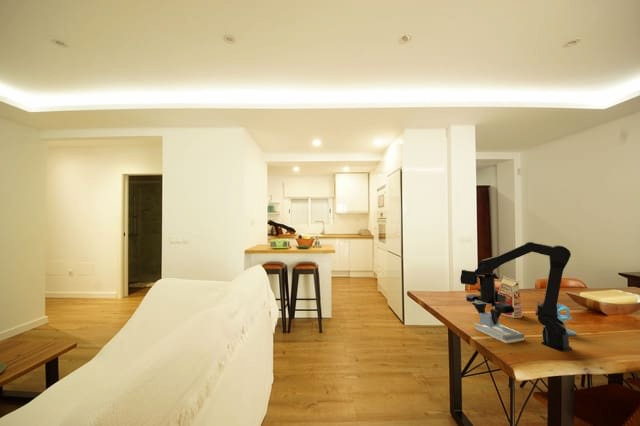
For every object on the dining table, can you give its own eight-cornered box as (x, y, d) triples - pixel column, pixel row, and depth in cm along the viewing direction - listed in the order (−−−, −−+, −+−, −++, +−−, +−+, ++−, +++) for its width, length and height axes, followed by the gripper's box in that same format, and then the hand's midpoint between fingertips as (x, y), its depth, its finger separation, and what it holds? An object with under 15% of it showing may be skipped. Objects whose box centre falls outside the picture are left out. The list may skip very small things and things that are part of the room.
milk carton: (496, 313, 126) (494, 276, 128) (506, 310, 130) (504, 274, 132) (516, 319, 118) (513, 279, 120) (525, 316, 122) (523, 277, 124)
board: (524, 340, 96) (524, 333, 96) (506, 343, 93) (505, 336, 94) (491, 326, 109) (491, 321, 110) (474, 328, 107) (474, 323, 107)
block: (499, 326, 104) (498, 315, 104) (490, 327, 102) (489, 316, 103) (488, 321, 108) (487, 311, 109) (480, 322, 107) (479, 312, 108)
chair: (541, 328, 107) (539, 302, 108) (555, 327, 108) (553, 301, 109) (561, 336, 99) (558, 307, 100) (576, 334, 101) (574, 306, 101)
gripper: (522, 291, 100) (525, 328, 99) (482, 281, 118) (484, 313, 117) (502, 293, 97) (505, 331, 96) (464, 283, 115) (466, 315, 114)
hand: (489, 322), depth 105 cm, fingers closed on block, 5 cm apart
